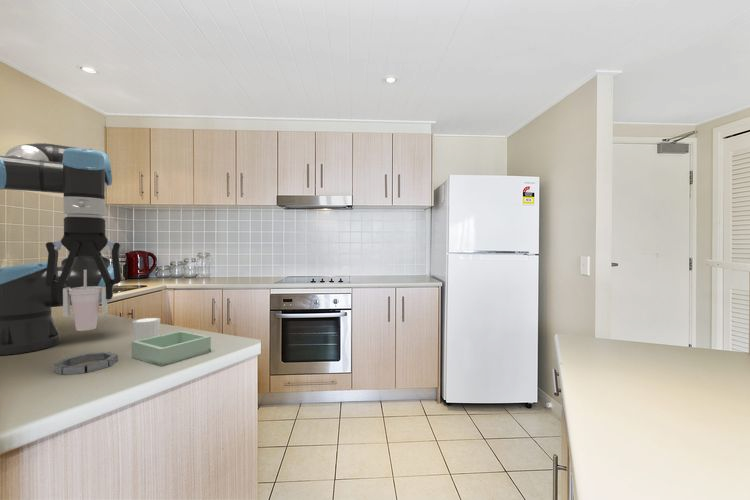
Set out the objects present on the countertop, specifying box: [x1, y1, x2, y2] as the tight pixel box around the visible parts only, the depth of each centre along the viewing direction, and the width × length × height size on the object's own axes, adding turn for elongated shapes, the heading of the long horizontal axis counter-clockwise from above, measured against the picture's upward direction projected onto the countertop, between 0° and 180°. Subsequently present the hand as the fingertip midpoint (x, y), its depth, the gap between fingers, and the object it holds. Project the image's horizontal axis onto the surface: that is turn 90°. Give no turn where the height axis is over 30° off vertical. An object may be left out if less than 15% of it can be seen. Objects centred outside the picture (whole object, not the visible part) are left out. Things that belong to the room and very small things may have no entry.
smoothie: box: [68, 270, 102, 332], centre depth 83 cm, size 6×6×14 cm
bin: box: [131, 330, 212, 367], centre depth 91 cm, size 13×13×4 cm
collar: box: [53, 351, 118, 376], centre depth 83 cm, size 11×11×2 cm
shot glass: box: [132, 317, 161, 341], centre depth 101 cm, size 7×7×7 cm
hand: (86, 314), depth 83 cm, fingers closed on smoothie, 6 cm apart
